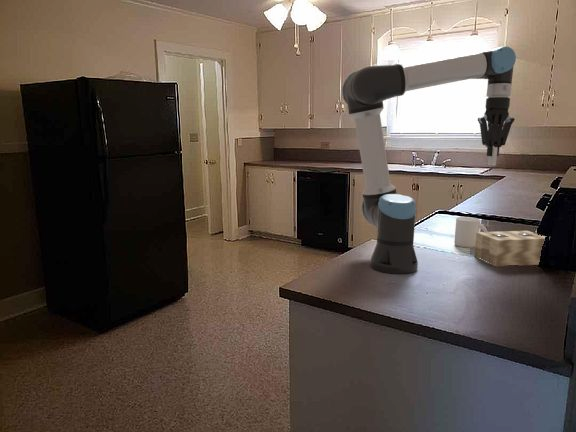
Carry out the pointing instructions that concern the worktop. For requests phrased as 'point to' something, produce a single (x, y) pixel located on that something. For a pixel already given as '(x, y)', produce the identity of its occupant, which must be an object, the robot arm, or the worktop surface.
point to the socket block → (509, 248)
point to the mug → (467, 231)
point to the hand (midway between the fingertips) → (491, 165)
